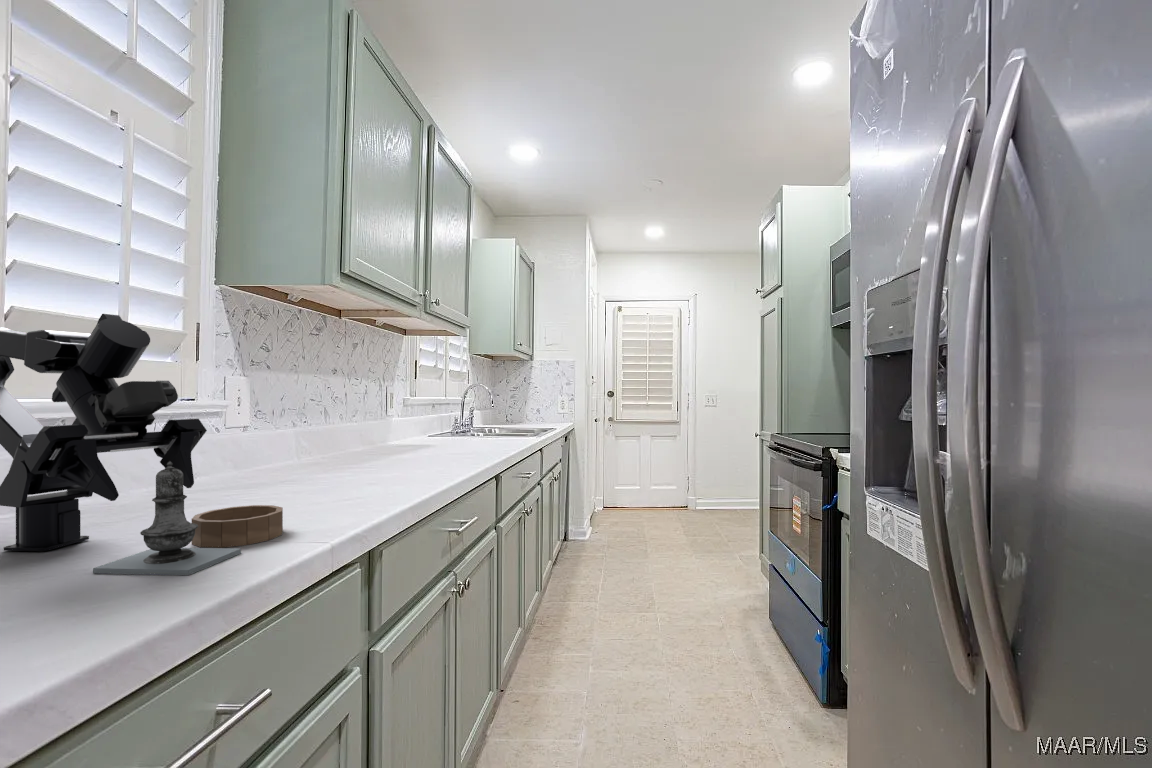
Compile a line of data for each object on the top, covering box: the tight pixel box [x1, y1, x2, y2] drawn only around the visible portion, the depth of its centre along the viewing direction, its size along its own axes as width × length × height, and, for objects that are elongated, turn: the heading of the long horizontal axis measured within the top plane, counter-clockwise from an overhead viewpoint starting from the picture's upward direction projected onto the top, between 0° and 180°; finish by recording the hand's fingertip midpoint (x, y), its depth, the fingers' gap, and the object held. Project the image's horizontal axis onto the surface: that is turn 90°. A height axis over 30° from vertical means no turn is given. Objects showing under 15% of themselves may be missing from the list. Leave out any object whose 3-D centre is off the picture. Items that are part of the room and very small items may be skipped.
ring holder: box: [191, 504, 284, 548], centre depth 84 cm, size 11×11×4 cm
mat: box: [92, 547, 242, 576], centre depth 71 cm, size 12×9×1 cm
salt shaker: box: [139, 461, 198, 564], centre depth 72 cm, size 6×6×12 cm
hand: (155, 491), depth 73 cm, fingers open, 9 cm apart
